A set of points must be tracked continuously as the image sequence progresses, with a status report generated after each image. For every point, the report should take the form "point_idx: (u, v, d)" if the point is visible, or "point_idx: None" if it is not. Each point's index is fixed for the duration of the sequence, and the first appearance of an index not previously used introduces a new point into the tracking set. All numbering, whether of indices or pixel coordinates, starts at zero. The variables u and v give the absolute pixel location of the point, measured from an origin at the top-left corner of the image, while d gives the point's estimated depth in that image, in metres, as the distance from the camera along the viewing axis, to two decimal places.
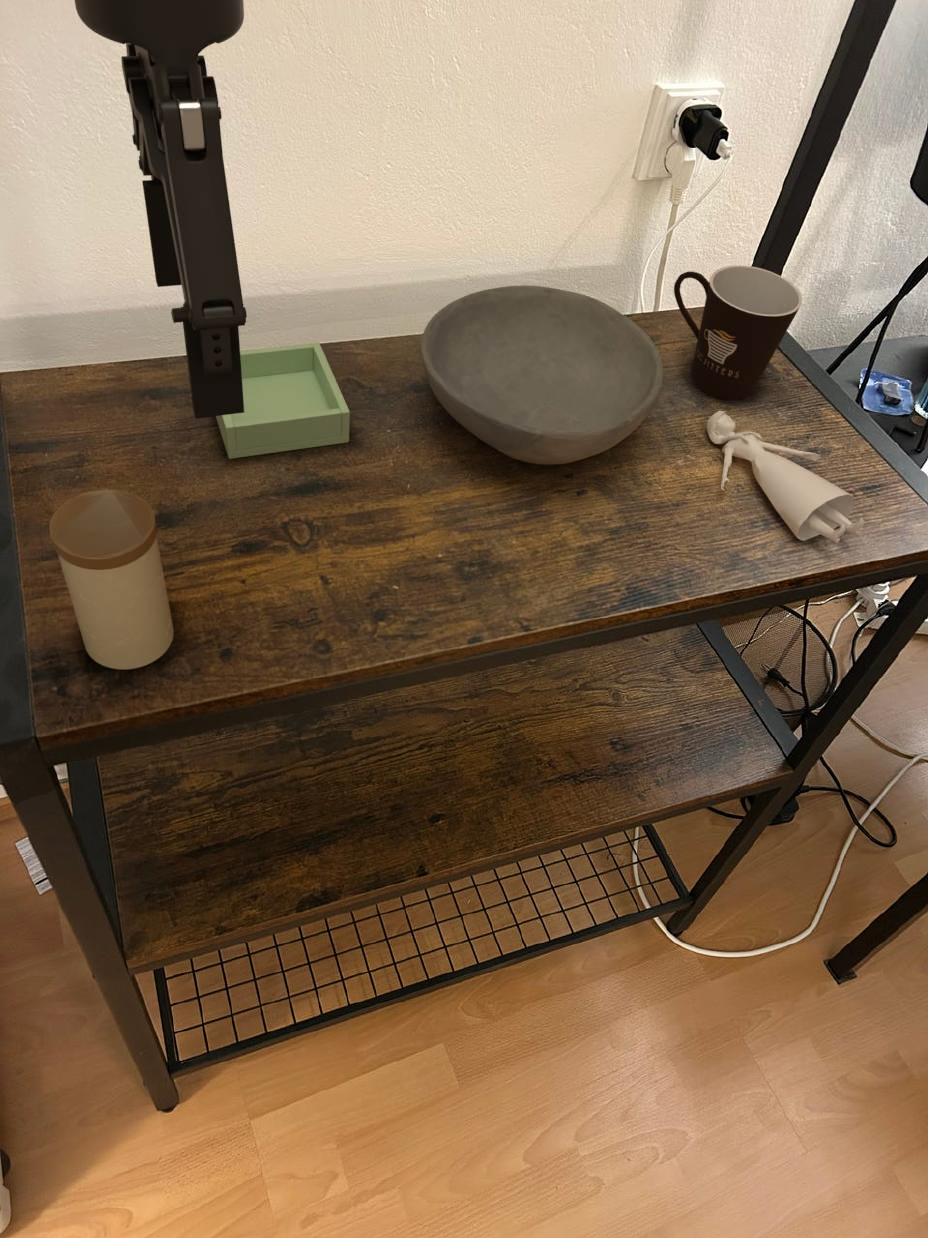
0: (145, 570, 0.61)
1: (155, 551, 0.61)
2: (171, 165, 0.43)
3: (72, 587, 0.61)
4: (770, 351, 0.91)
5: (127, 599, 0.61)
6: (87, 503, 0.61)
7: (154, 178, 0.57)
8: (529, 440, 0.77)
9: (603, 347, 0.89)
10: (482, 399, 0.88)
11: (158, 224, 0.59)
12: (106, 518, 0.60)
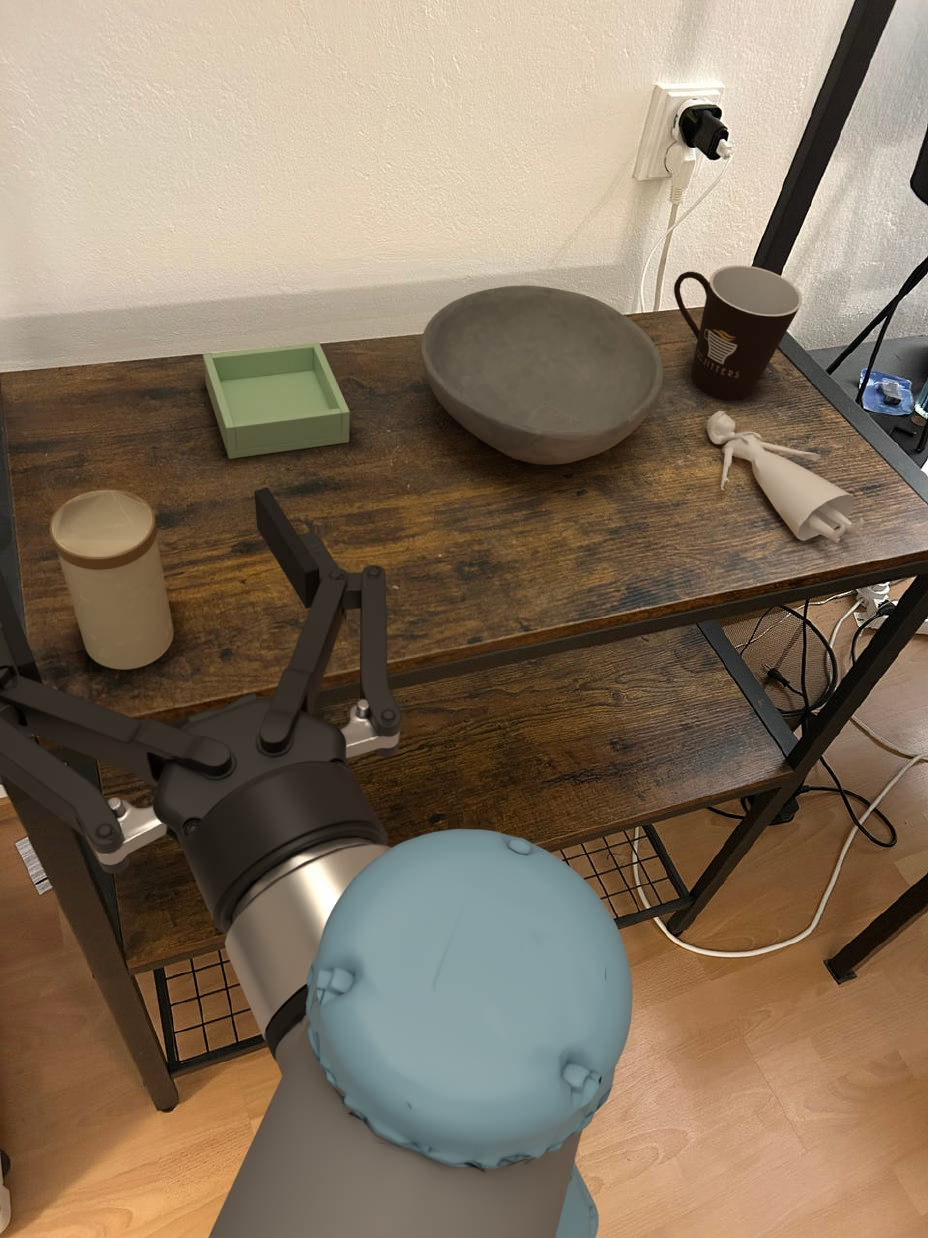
0: (145, 570, 0.61)
1: (155, 551, 0.61)
2: (68, 804, 0.39)
3: (72, 587, 0.61)
4: (770, 351, 0.91)
5: (127, 599, 0.61)
6: (87, 503, 0.61)
7: (319, 579, 0.48)
8: (529, 440, 0.77)
9: (603, 347, 0.89)
10: (482, 399, 0.88)
11: (285, 549, 0.49)
12: (106, 518, 0.60)
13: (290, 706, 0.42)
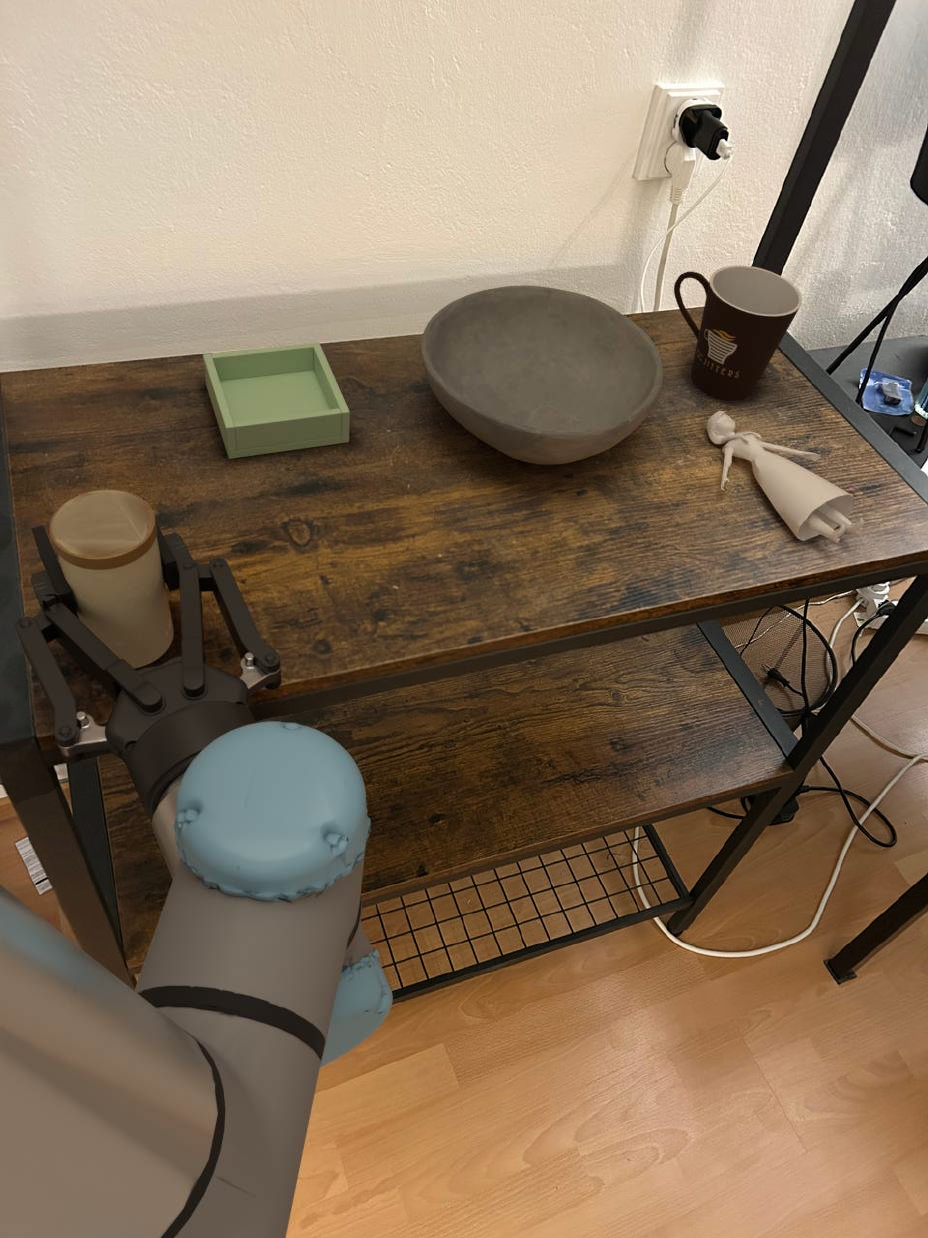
0: (145, 570, 0.61)
1: (155, 551, 0.61)
2: (53, 706, 0.55)
3: (72, 587, 0.61)
4: (770, 351, 0.91)
5: (127, 599, 0.61)
6: (87, 503, 0.61)
7: (177, 569, 0.64)
8: (529, 440, 0.77)
9: (603, 347, 0.89)
10: (482, 399, 0.88)
11: None
12: (106, 518, 0.60)
13: (197, 662, 0.58)
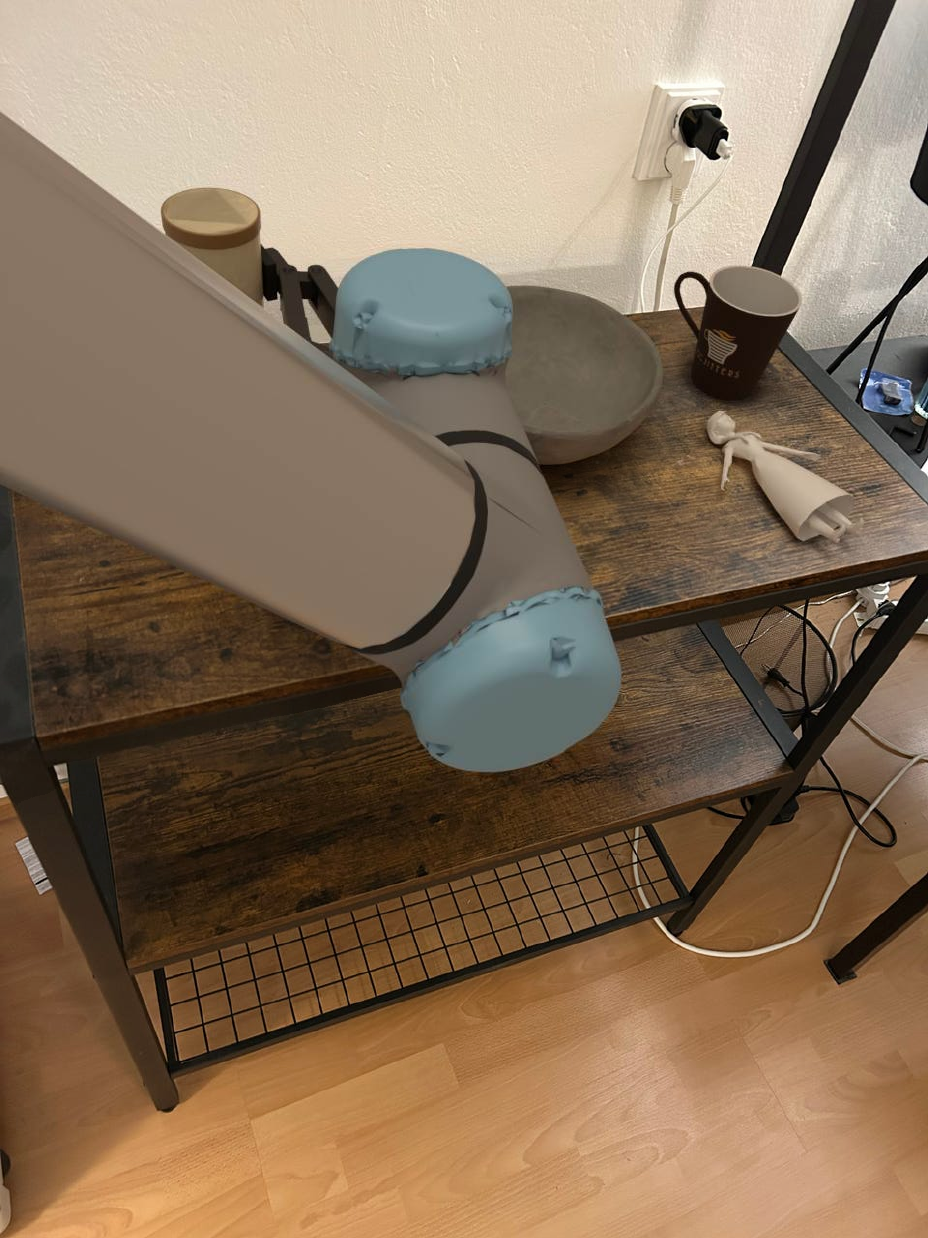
0: (250, 261, 0.63)
1: (259, 246, 0.63)
2: None
3: None
4: (770, 351, 0.91)
5: None
6: (194, 196, 0.63)
7: (276, 274, 0.66)
8: (529, 440, 0.77)
9: (603, 347, 0.89)
10: None
11: None
12: (213, 207, 0.62)
13: (304, 334, 0.60)
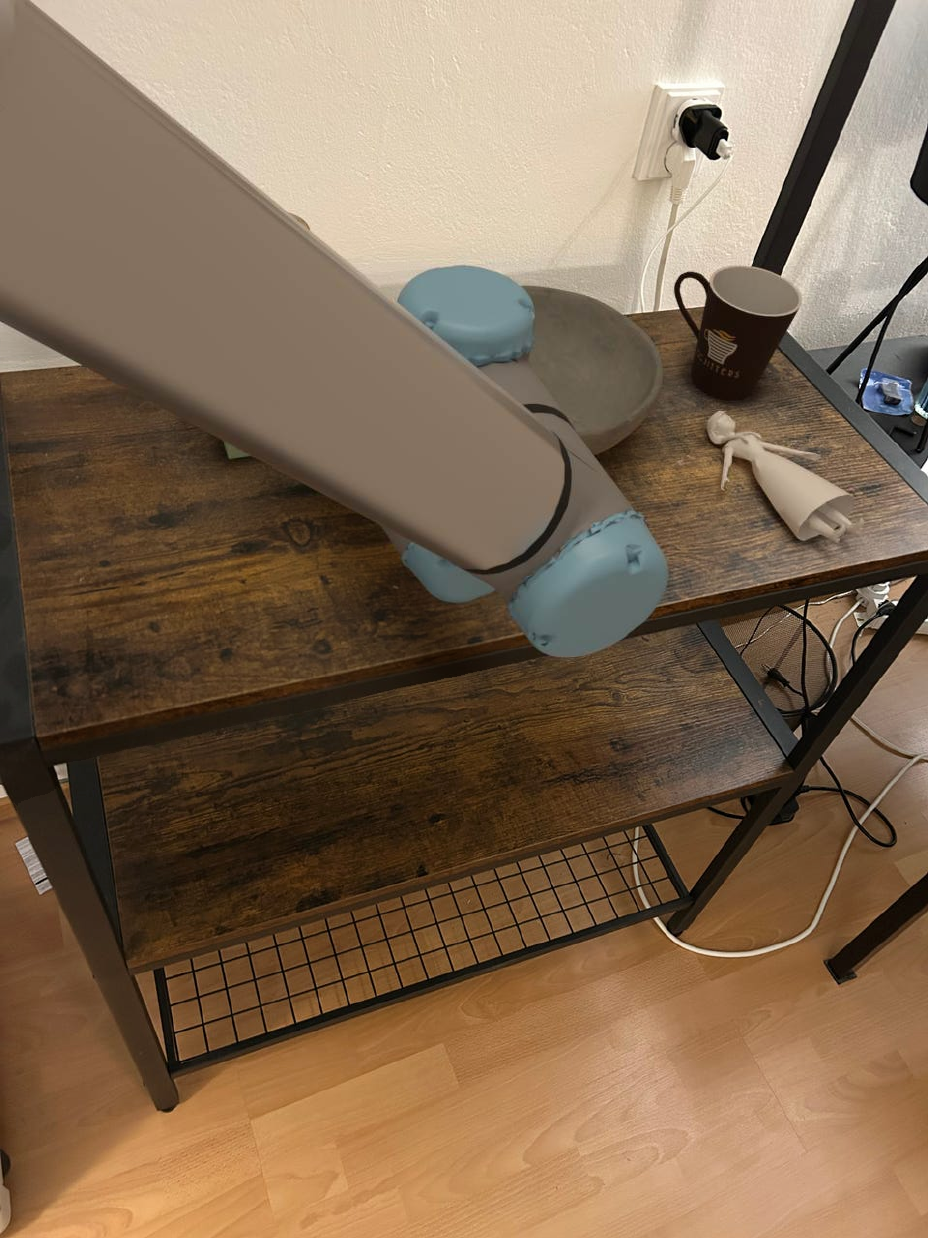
0: None
1: None
2: None
3: None
4: (770, 351, 0.91)
5: None
6: None
7: None
8: None
9: (603, 347, 0.89)
10: None
11: None
12: None
13: None
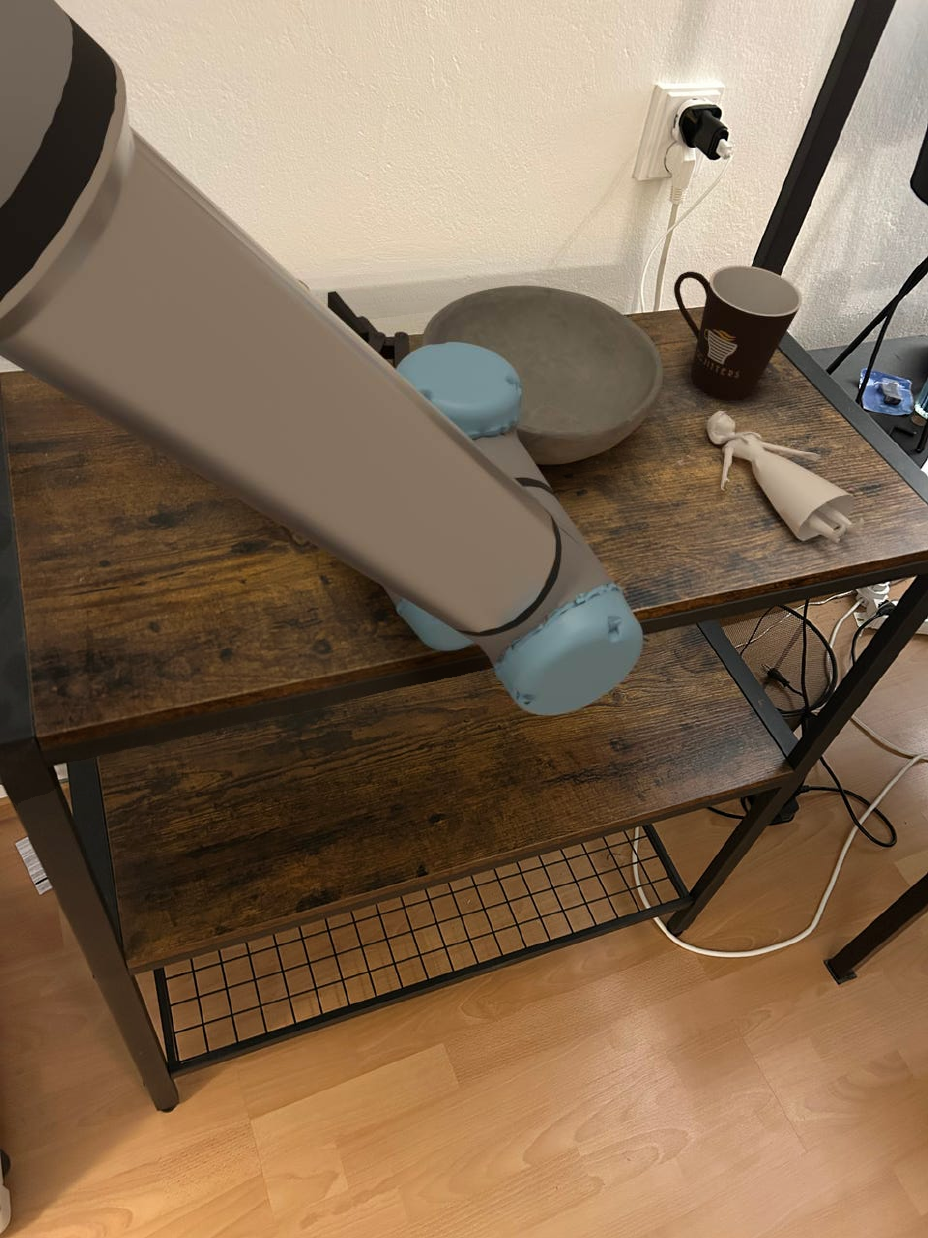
0: None
1: None
2: None
3: None
4: (770, 351, 0.91)
5: None
6: None
7: (368, 339, 0.81)
8: (529, 440, 0.77)
9: (603, 347, 0.89)
10: None
11: (348, 323, 0.82)
12: None
13: None
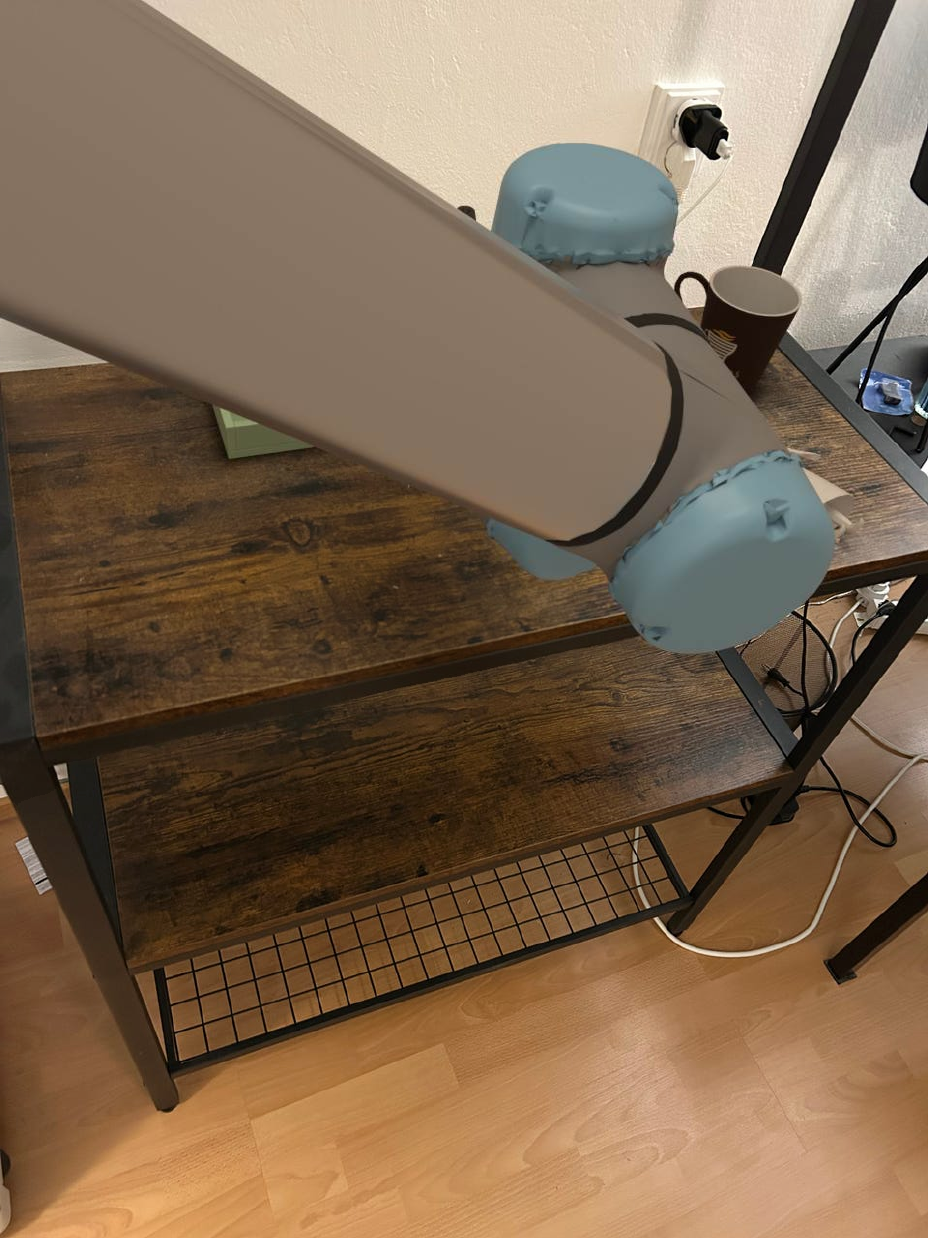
0: None
1: None
2: None
3: None
4: (770, 351, 0.91)
5: None
6: None
7: None
8: None
9: None
10: None
11: None
12: None
13: None
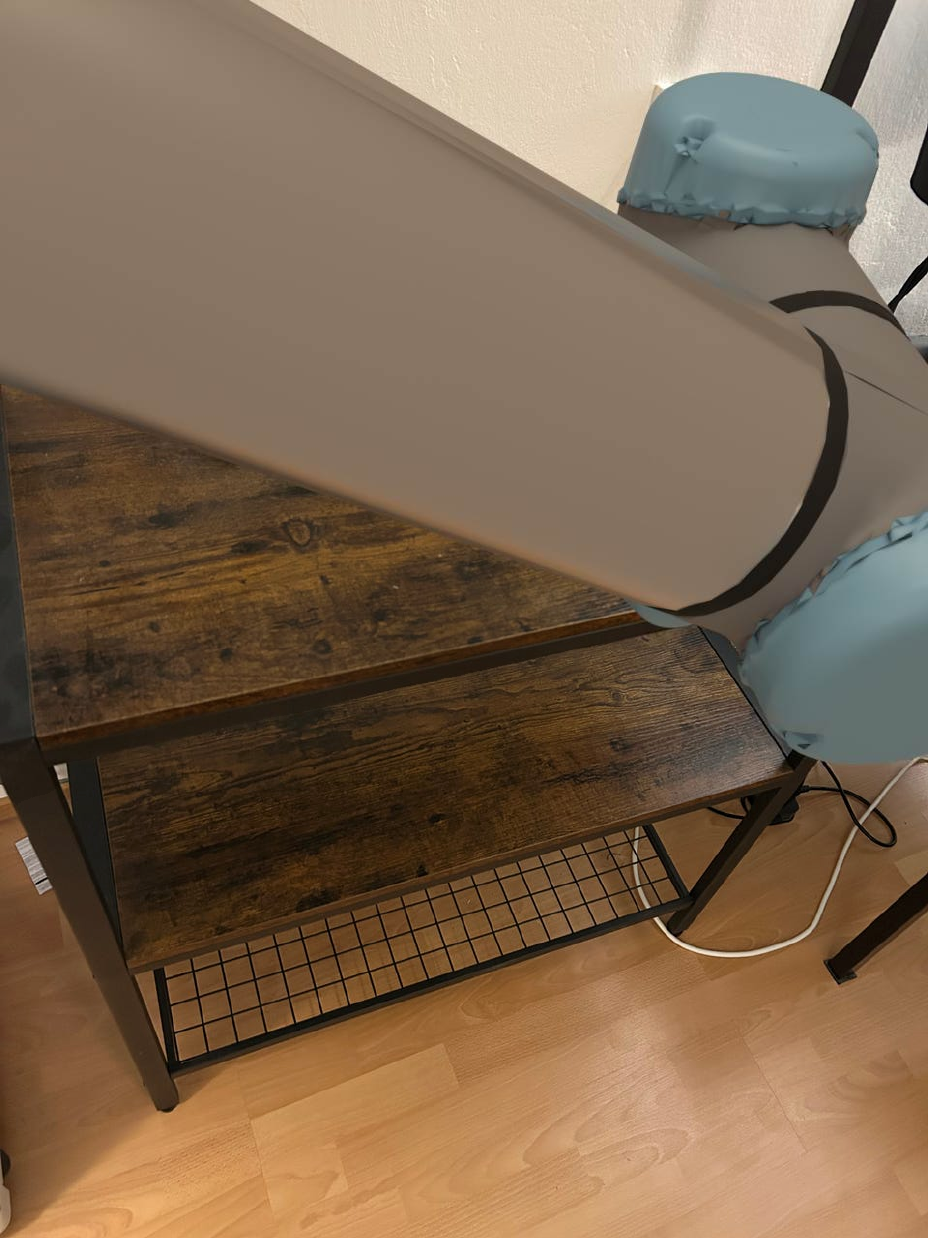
0: None
1: None
2: None
3: None
4: None
5: None
6: None
7: None
8: None
9: None
10: None
11: None
12: None
13: None
